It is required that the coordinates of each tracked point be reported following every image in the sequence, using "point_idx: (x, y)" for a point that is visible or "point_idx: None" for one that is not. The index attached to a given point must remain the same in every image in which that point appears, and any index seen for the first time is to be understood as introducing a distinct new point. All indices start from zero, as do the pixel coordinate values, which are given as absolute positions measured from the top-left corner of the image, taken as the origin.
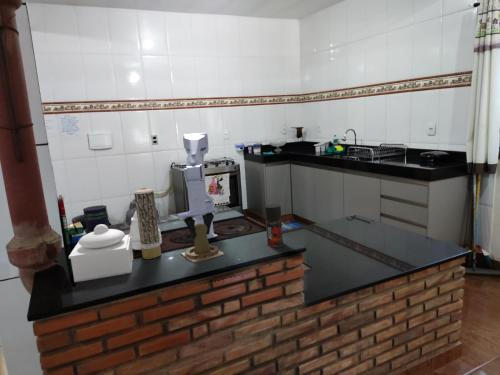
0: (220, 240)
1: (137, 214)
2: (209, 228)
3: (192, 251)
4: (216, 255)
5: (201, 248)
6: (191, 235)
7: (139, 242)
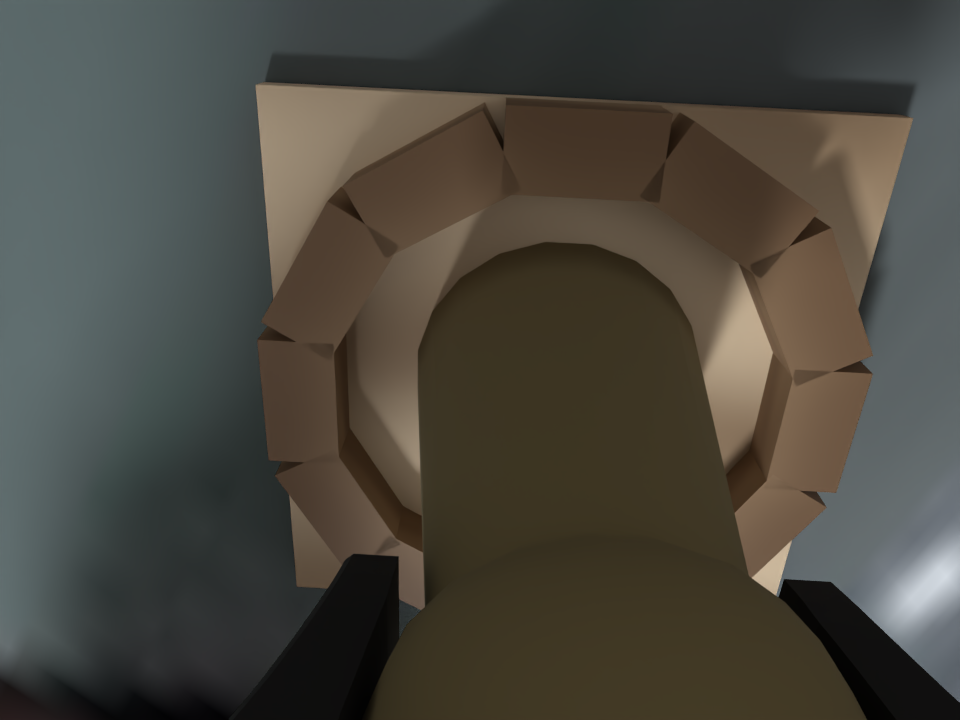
0: (62, 677)
1: None
2: (296, 666)
3: None
4: (431, 93)
5: (652, 331)
6: None
7: None
